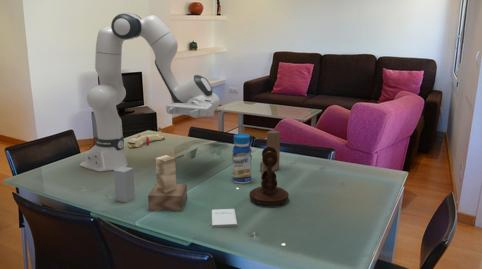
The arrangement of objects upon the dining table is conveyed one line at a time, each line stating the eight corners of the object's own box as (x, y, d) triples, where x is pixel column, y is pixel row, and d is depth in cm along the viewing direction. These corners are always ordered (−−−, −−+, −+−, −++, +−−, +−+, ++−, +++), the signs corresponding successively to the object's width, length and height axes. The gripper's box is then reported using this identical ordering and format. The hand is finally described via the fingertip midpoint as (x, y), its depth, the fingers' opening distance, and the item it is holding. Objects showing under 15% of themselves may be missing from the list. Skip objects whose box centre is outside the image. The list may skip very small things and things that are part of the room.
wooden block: (267, 173, 191) (268, 134, 187) (259, 171, 194) (260, 133, 190) (279, 169, 198) (280, 131, 194) (271, 167, 201) (272, 129, 197)
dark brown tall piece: (249, 192, 170) (250, 143, 165) (286, 193, 169) (288, 144, 164) (249, 207, 155) (249, 154, 150) (289, 208, 155) (291, 155, 150)
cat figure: (155, 140, 255) (122, 146, 234) (155, 126, 253) (122, 130, 232) (167, 142, 249) (135, 149, 229) (168, 128, 248) (135, 133, 227)
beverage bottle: (254, 179, 185) (255, 134, 180) (246, 185, 177) (247, 138, 172) (237, 176, 188) (237, 132, 183) (228, 182, 181) (228, 136, 176)
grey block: (115, 200, 161) (113, 170, 159) (124, 195, 166) (122, 166, 163) (126, 202, 159) (124, 172, 157) (134, 197, 164) (133, 168, 161)
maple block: (156, 189, 157) (155, 158, 154) (167, 185, 161) (166, 155, 158) (165, 192, 154) (164, 161, 151) (176, 188, 157) (175, 157, 154)
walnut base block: (148, 211, 153) (148, 195, 151) (156, 198, 164) (155, 183, 163) (182, 211, 152) (181, 195, 151) (187, 198, 164) (186, 183, 163)
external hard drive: (212, 229, 139) (211, 213, 151) (237, 228, 140) (234, 212, 152) (212, 224, 139) (211, 209, 151) (237, 223, 140) (234, 208, 152)
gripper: (175, 98, 188) (157, 103, 176) (217, 101, 180) (201, 107, 168) (176, 112, 190) (158, 118, 178) (217, 116, 182) (201, 122, 170)
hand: (179, 112), depth 173 cm, fingers open, 8 cm apart
